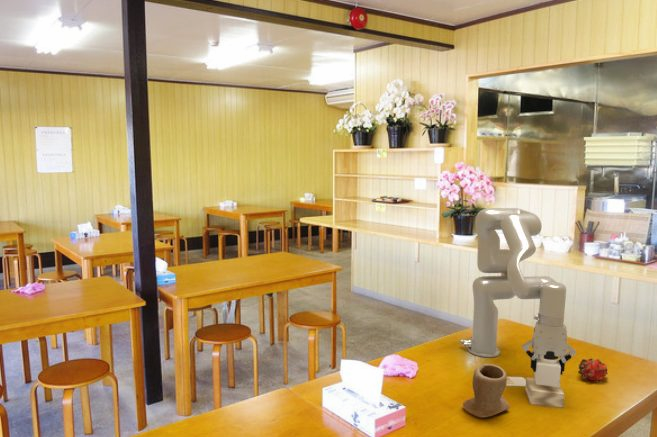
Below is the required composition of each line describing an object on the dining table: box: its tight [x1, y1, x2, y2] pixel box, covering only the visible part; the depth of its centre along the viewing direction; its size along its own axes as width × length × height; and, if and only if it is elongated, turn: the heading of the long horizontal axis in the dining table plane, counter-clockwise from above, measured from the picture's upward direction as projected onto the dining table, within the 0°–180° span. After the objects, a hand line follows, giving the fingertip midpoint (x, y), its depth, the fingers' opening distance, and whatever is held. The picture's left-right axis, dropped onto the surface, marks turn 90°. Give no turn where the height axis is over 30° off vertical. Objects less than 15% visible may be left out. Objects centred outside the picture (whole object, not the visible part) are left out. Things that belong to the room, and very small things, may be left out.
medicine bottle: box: [533, 351, 561, 387], centre depth 165 cm, size 7×7×12 cm
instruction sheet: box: [506, 376, 526, 388], centre depth 179 cm, size 10×7×1 cm
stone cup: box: [462, 363, 511, 418], centre depth 157 cm, size 15×12×15 cm
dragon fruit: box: [577, 358, 608, 383], centre depth 181 cm, size 8×8×12 cm
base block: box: [524, 377, 566, 409], centre depth 166 cm, size 10×10×5 cm
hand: (546, 371), depth 165 cm, fingers closed on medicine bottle, 7 cm apart
